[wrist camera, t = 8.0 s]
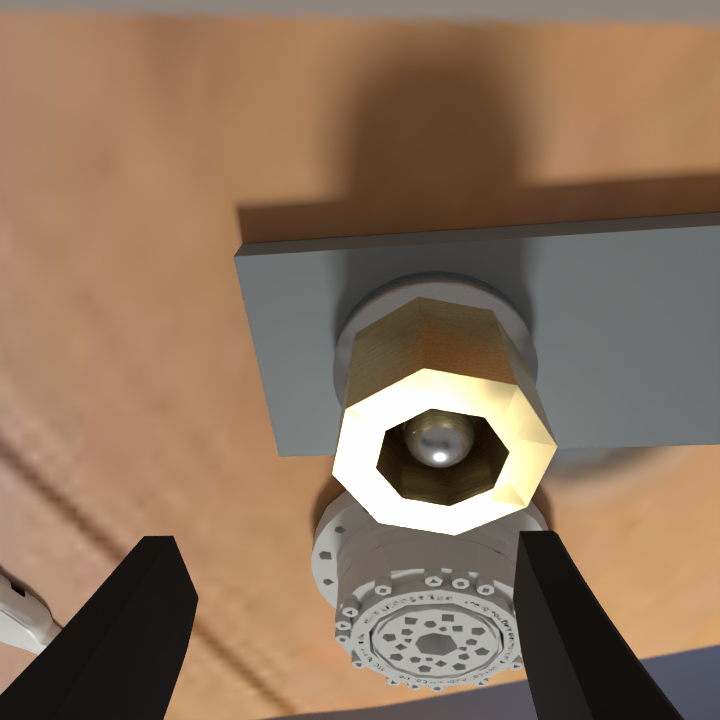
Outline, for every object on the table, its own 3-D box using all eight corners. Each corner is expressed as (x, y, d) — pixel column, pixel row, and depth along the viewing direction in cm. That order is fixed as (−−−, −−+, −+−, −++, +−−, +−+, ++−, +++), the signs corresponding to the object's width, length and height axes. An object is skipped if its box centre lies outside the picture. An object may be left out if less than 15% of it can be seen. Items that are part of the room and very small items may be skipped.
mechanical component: (586, 482, 21) (332, 439, 20) (627, 583, 17) (318, 533, 17) (505, 626, 26) (303, 594, 26) (523, 726, 23) (287, 691, 22)
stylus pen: (-69, 543, 25) (-98, 580, 24) (-24, 532, 25) (-51, 570, 23) (116, 688, 33) (103, 722, 32) (153, 682, 33) (142, 717, 31)
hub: (539, 264, 15) (585, 345, 11) (523, 431, 18) (555, 536, 14) (324, 277, 15) (302, 357, 12) (346, 437, 19) (333, 539, 15)
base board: (981, 194, 14) (1018, 206, 13) (864, 420, 18) (886, 439, 17) (242, 243, 16) (233, 256, 15) (284, 438, 20) (279, 456, 19)
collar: (466, 268, 14) (485, 336, 11) (548, 398, 16) (583, 485, 13) (314, 356, 16) (295, 435, 13) (406, 464, 18) (408, 553, 15)
